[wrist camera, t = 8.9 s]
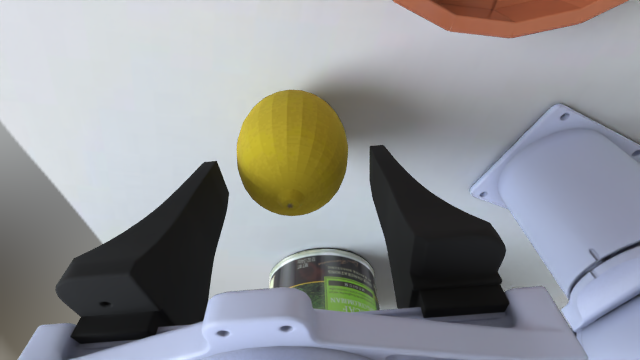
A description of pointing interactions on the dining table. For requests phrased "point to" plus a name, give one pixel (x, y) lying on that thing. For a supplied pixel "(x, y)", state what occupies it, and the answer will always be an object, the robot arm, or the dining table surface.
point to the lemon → (292, 153)
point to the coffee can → (329, 279)
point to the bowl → (507, 14)
